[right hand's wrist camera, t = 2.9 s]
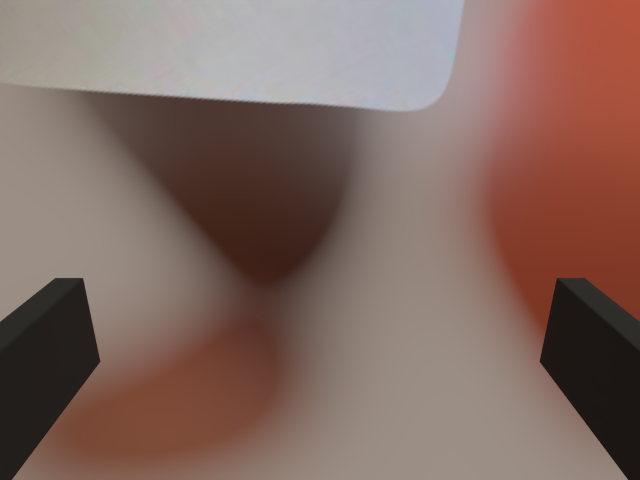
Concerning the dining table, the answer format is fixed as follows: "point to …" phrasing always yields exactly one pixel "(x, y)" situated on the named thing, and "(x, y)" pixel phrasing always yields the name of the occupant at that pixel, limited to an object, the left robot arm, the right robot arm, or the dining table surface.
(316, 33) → the dining table surface
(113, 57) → the dining table surface
